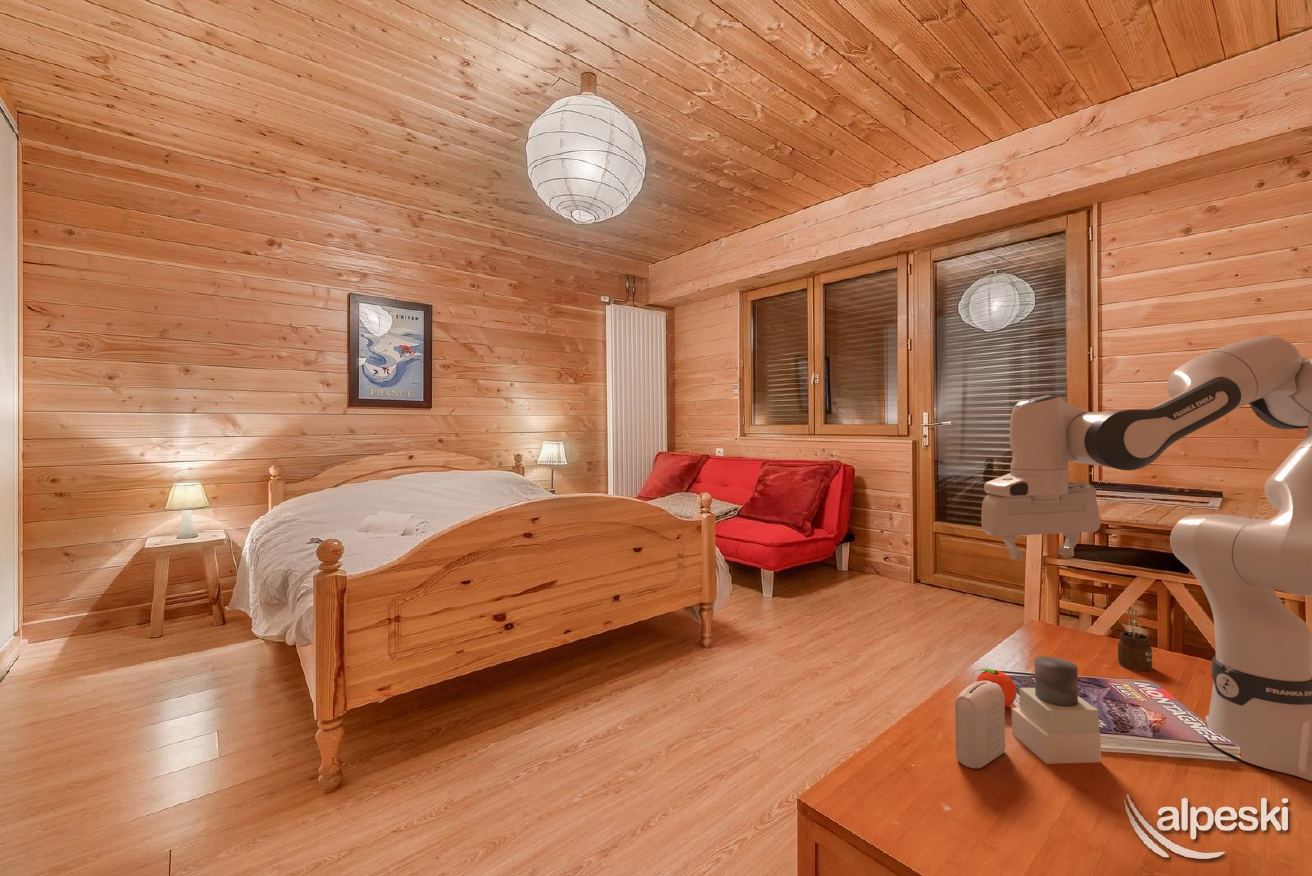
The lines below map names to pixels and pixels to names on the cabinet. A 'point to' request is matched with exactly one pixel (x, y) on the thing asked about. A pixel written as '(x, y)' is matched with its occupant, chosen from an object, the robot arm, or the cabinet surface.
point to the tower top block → (1059, 715)
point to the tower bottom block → (1055, 742)
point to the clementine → (1000, 683)
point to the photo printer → (980, 724)
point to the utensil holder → (1134, 648)
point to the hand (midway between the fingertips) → (1041, 557)
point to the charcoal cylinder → (1056, 681)
